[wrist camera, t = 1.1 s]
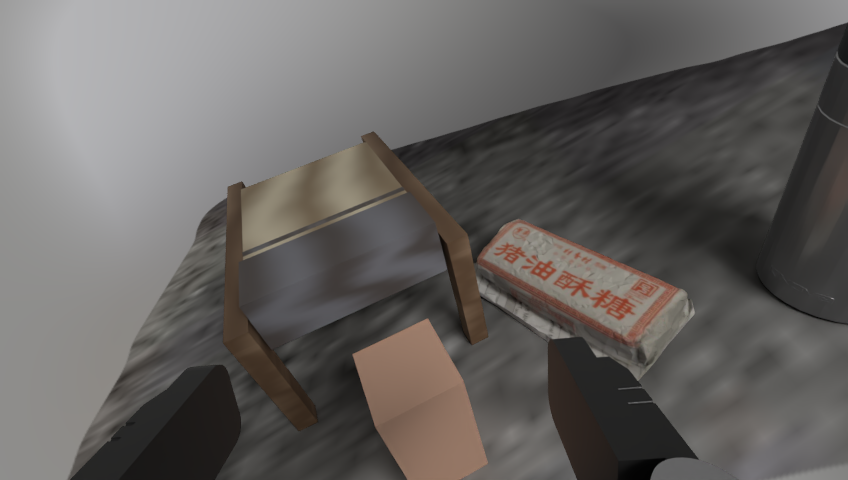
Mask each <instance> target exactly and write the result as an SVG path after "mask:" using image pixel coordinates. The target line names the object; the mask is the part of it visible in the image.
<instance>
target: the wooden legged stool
mask: <svg viewBox="0 0 848 480" xmlns="http://www.w3.org/2000/svg"><path fill="white" fill-rule="evenodd" d="M361 137H362V140H363V143H364V142H367V144H368V145H369V146H370V147H371V149H372V150H373V151H374V152H375V154H376V155H377V156H378V157H379V159H380V160H381V161H382V162H383V164H384V165H385V166H386V167H387V169H388V170H389V171H390V172H391V173H392V175H393V176H394V177H395V178H396V180H397V181H398V182H399V183H400V185H401V186H402V187H403V188H404V189H405V191H406V192H411V193H412V195H413V196H414V197H415V198H416V200H417V201H418V202H419V203H420V204H421V206H422V207H423V208H424V209H425V211H426V212H427V213H428V214H429V215H430V217H431V218H432V219H433V220H434V221H435V223H436V227H437V231H438V235H439V239H440V243H441V246H442V250H443V254H444V258H445V262H446V266H447V269H448V273H449V277H450V281H451V285H452V289H453V292H454V296H455V300H456V304H457V308H458V312H459V316H460V319H461V323H462V327H463V331H464V333H465V335H466V336H467V338H468V339H469V341H470V343H471V344H472V345H473V344H475V343H477V342H479V341H481V340H483V339H485V338H487V337H488V333H487V328H486V323H485V318H484V313H483V308H482V303H481V298H480V293H479V288H478V283H477V278H476V273H475V268H474V264H473V259H472V254H471V249H470V244H469V239H468V234H467V233H466V232H465V231H464V230H463V229H462V228H461V227H460V226H459V224H458V223H457V222H456V221H455V220H454V219H453V218H452V217H451V216H450V215H449V213H448V212H447V211H446V210H445V209H444V208H443V207H442V206H441V205H440V204H439V202H438V201H437V200H436V199H435V198H434V197H433V196H432V195H431V194H430V193H429V191H428V190H427V189H426V188H425V187H424V186H423V185H422V184H421V183H420V182H419V180H418V179H417V178H416V177H415V176H414V175H413V174H412V173H411V172H410V171H409V169H408V168H407V167H406V166H405V165H404V164H403V163H402V162H401V161H400V160H399V158H398V157H397V156H396V155H395V154H394V153H393V152H392V151H391V150H390V149H389V148H388V146H387V145H386V144H385V143H384V142H383V141H382V140H381V139H380V138H379V137H378V135H377V134H376V133H375V132H371V133H369V134H366V135H363V136H361ZM244 188H246V187H245V185H244V184H243V182H239V183H237V184H234V185H231V186H229V187H228V197H227V229H226V263H225V296H224V330H223V344H224V345H225V346H226V347H227V348H228V350H229V351H230V352H231V353H232V354H233V355H234V357H235V358H236V359H237V360H238V361H239V362H240V363H241V365H242V366H243V367H244V368H245V369H246V370H247V372H248V373H249V374H250V375H251V376H252V377H253V379H254V380H255V381H256V382H257V383H258V384H259V386H260V387H261V388H262V389H263V390H264V391H265V392H266V394H267V395H268V396H269V397H270V398H271V399H272V401H273V402H274V403H275V404H276V405H277V406H278V408H279V409H280V410H281V411H282V412H283V413H284V415H285V416H286V417H287V418H288V419H289V420H290V421H291V423H292V424H293V425H294V426H295V427H296V428H297V430H298V431H301V430H303V429H305V428H307V427H309V426H311V425H313V424H315V423H317V422H318V419H317V414H316V408H315V405H314V403H313V402H312V401H311V399H310V398H309V397H308V395H307V394H306V393H305V391H304V390H303V389H302V387H301V386H300V385H299V383H298V382H297V381H296V379H295V378H294V377H293V375H292V374H291V373H290V371H289V370H288V369H287V367H286V366H285V365H284V363H283V362H282V361H281V359H280V358H279V357H278V355H277V354H276V353H275V351H274V350H271V348H270V347H269V346H268V344H267V343H266V342H265V341H264V339H263V338H262V337H261V335H260V334H259V333H258V331H257V330H256V329H255V327H254V326H253V325H252V323H251V322H250V321H249V319H248V318H247V317H246V315H245V314H244V313H243V311H242V310H241V309H240V307H239V262H240V261H243V255H242V252H243V241H242V210H241V189H244Z"/></svg>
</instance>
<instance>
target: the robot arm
mask: <svg viewBox="0 0 848 480" xmlns="http://www.w3.org/2000/svg"><path fill="white" fill-rule="evenodd" d="M756 270H757V273H758V276H759V278H760V280H761V281H762V283H763V284H764V286H765V287H766V288H767V289H768V290H769V291H771V292H772V293H773V294H774V295H775V296H776V297H778V298H779V299H781V300H782V301H784V302H785V303H787V304H789V305H791V306H793V307H795V308H797V309H799V310H801V311H803V312H806V313H808V314H811V315H814V316H816V317H819V318H823V319H827V320H831V321H835V322H840V323H847V324H848V24H847V26H846V29H845V32H844V34H843V37H842V40H841V42H840V45H839V47H838V51H837V53H836V55H835V58H834V61H833V63H832V66H831V68H830V71H829V74H828V76H827V79H826V82H825V84H824V87H823V89H822V92H821V95H820V97H819V101H818V103H817V106H816V109H815V111H814V114H813V116H812V119H811V122H810V124H809V127H808V129H807V132H806V135H805V137H804V140H803V143H802V145H801V148H800V150H799V153H798V156H797V158H796V161H795V164H794V166H793V169H792V171H791V174H790V177H789V179H788V182H787V184H786V187H785V190H784V192H783V195H782V198H781V200H780V203H779V205H778V208H777V211H776V213H775V216H774V219H773V221H772V223H771V226H770V229H769V231H768V234H767V236H766V239H765V242H764V244H763V247H762V250H761V252H760V255H759V257H758V260H757V266H756ZM548 395H549V404H550V409H551V414H552V417H553V420H554V423H555V426H556V428H557V430H558V433H559V435H560V438H561V440H562V443H563V445H564V448H565V450H566V453H567V455H568V458H569V460H570V463H571V465H572V468H573V470H574V473H575V475H576V478H577V480H739V479H737V478H736V477H735V476H733V475H732V474H730V473H728V472H727V471H725V470H723V469H721V468H719V467H717V466H715V465H713V464H710V463H707V462H704V461H701V460H699V459H698V458H697V456H696V455H695V454H694V453H693V451H692V450H691V449H690V447H689V446H688V445H687V444H686V442H685V441H684V440H683V438H682V437H681V436H680V435H679V433H678V432H677V431H676V429H675V428H674V427H673V426H672V424H671V423H670V422H669V420H668V419H667V418H666V417H665V415H664V414H663V413H662V411H661V410H660V409H659V408H658V406H657V405H656V404H655V403H654V404H653V401H652V399H651V397H650V396H649V395H648V393H647V392H646V391H645V390H644V389H642V386H641V384H640V383H639V382H638V381H637V379H636V378H635V377H634V375H633V374H632V373H631V372H630V370H629V369H627V368H626V367H624V366H623V365H621V364H620V363H618V362H617V361H615V360H614V359H612V358H611V357H609V356H608V357H596V355H595V354H594V353H593V351H592V350H591V348H590V347H589V345H588V344H587V342H586V341H585V340H584V338H583V337H572V338H559V339H550V340H549V343H548ZM240 428H241V417H240V412H239V409H238V406H237V402H236V399H235V395H234V392H233V388H232V385H231V381H230V378H229V374H228V371H227V369H226V368H225V367H224V366H223V365H210V366H198V367H190V368H188V369H186V370H185V371H184V372H183V373H182V374H181V375H180V376H179V377H178V378H177V379H176V380H175V381H174V382H173V384H172V385H171V386H170V387H169V388H168V389H167V390H165V391H164V392H162V393H161V394H159V395H158V396H156V397H155V398H153V399H152V400H150V401H149V402H147V403H146V404H144V405H143V406H142V407H141V408H140V409H139V410H138V411H137V412H136V413H135V414H134V415H133V416H132V417H131V418H130V419H129V420H128V421H127V422H126V426H122V427H121V428H120V429H119V430H118V431H117V432H116V433H115V434H114V436H113V437H112V438H111V441H110V442H107V443H106V444H105V445H104V446H103V447H102V448H101V449H100V450H99V451H98V452H97V453H96V454H95V455H94V456H93V457H92V458H91V459H90V460H89V461H88V462H87V463H86V464H85V465H84V466H83V467H82V468H81V469H80V470H79V471H78V472H77V473H76V474H75V475H74V476H73V477H72V478H71V479H70V480H215V478H216V477H217V475H218V473H219V472H220V470H221V468H222V466H223V465H224V463H225V461H226V460H227V458H228V456H229V454H230V453H231V451H232V449H233V448H234V446H235V444H236V442H237V440H238V437H239V434H240Z"/></svg>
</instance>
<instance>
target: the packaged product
mask: <svg viewBox="0 0 848 480" xmlns="http://www.w3.org/2000/svg"><path fill="white" fill-rule="evenodd" d="M474 268H475V273H476V278H477V283H478V288H479V293H480V296H481V297H483V298H485V299H486V300H488V301H489V302H491V303H492V304H494V305H496V306H497V307H499V308H500V309H502V310H503V311H505V312H506V313H507V314H509V315H510V316H512V317H513V318H515V319H516V320H517V321H519V322H520V323H522V324H523V325H525V326H527V327H528V328H529V329H530V330H532V331H533V332H534V333H536V334H537V335H538V336H540V337H541V338H543V339H545V340H547V342H549V340H550V339H559V338H572V337H583V338H584V340H585V341H586V342H587V344H588V345H589V347H590V348H591V350H592V351H593V353H594V354H595V355H596V357H608V356H609V357H611V358H612V359H614V360H615V361H617V362H618V363H620V364H621V365H623V366H624V367H626V368H627V369H629V370H630V372H631V373H632V374H633V375H634V377H635V378H636V379H637V381H639V379H640V378H641V377H642V376H643V375H644V374H645V373H646V372H647V371H648V369H649V368H650V367H651V366H652V365H653V364H654V363H655V362H656V360H657V359H658V358H659V356H660V355H661V353H662V352H663V351H664V349H665V348H666V346H667V345H668V344H669V343H670V342H671V340H672V339H673V338H674V337H675V336H676V335H677V334H678V333H679V331H680V330H681V329H682V328H683V327H684V326H685V324H686V323H687V322H688V321H689V320H690V319H691V317H692V316H693V315H694V314H695V312H694V307H693V303H692V299H687V293H686V292H685V291H684V290H683V289H678V288H677V287H675V286H672V285H670V284H668V283H666V282H664V281H661V280H660V279H658V278H655V277H652V276H650V275H648V274H645V273H643V272H641V271H638V270H636V269H634V268H631V267H629V266H627V265H625V264H623V263H620V262H617V261H615V260H613V259H611V258H609V257H606V256H604V255H602V254H600V253H597V252H595V251H592V250H590V249H587V248H585V247H584V246H581V245H579V244H576V243H574V242H572V241H569V240H567V239H564V238H561V237H559V236H557V235H555V234H553V233H550V232H548V231H546V230H543V229H541V228H538V227H536V226H534V225H532V224H530V223H527V222H525V221H523V220H520V219H517V220H514V221H512V222H509V223H507V224H505V225H504V226H503V227H502V228H501V229H500V230H499V232H498V234H497V235H496V236H495V237H494V238H493V239H492V240H491V242H490V243H489V244H487V246H485V247H484V248H483V250H482V251H481V253H480V255H479V256H478V257H477V262H476V263H474Z"/></svg>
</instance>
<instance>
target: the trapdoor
mask: <svg viewBox="0 0 848 480" xmlns="http://www.w3.org/2000/svg"><path fill="white" fill-rule="evenodd" d="M241 210H242V241H243V252H242V255H243V261H240V262H239V307H240V309H241V310H242V311H243V313H244V314H245V315H246V317H247V318H248V319H249V321H250V322H251V323H252V325H253V326H254V327H255V329H256V330H257V331H258V333H259V334H260V335H261V337H262V338H263V339H264V341H265V342H266V343H267V344H268V346H269V347H270V348H271V350H273V349H275V348H277V347H279V346H281V345H284V344H286V343H288V342H290V341H292V340H295V339H297V338H299V337H301V336H303V335H306V334H308V333H310V332H312V331H314V330H316V329H319V328H321V327H323V326H325V325H327V324H330V323H332V322H334V321H336V320H338V319H341V318H343V317H345V316H347V315H349V314H351V313H354V312H356V311H358V310H360V309H362V308H365V307H367V306H369V305H371V304H373V303H375V302H378V301H380V300H382V299H384V298H386V297H389V296H391V295H393V294H395V293H397V292H400V291H402V290H404V289H406V288H408V287H410V286H413V285H415V284H417V283H419V282H421V281H424V280H426V279H428V278H430V277H432V276H435V275H437V274H439V273H441V272H443V271H445V270H447V266H446V262H445V258H444V254H443V250H442V247H441V243H440V239H439V235H438V231H437V227H436V223H435V221H434V220H433V219H432V218H431V217H430V215H429V214H428V213H427V212H426V211H425V209H424V208H423V207H422V206H421V204H420V203H419V202H418V201H417V200H416V198H415V197H414V196H413V195H412V193H411V192H406V191H405V189H404V188H403V187H402V186H401V185H400V183H399V182H398V181H397V180H396V178H395V177H394V176H393V175H392V173H391V172H390V171H389V170H388V169H387V167H386V166H385V165H384V164H383V162H382V161H381V160H380V159H379V157H378V156H377V155H376V154H375V152H374V151H373V150H372V149H371V147H370V146H369V145H368V144H367V142H364V143H361V144H359V145H356V146H353V147H351V148H348V149H346V150H343V151H340V152H338V153H335V154H333V155H330V156H327V157H325V158H322V159H319V160H317V161H314V162H312V163H309V164H306V165H304V166H301V167H299V168H296V169H293V170H291V171H288V172H285V173H283V174H280V175H278V176H275V177H272V178H270V179H267V180H265V181H262V182H259V183H257V184H254V185H251V186H249V187H246V188H244V189H241Z"/></svg>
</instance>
